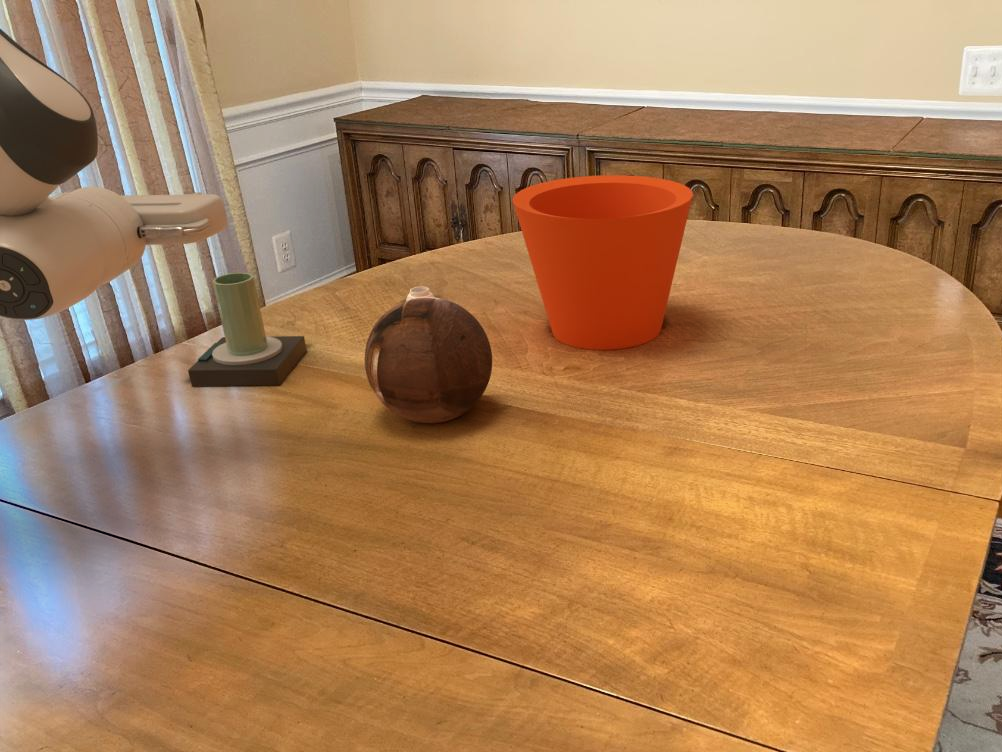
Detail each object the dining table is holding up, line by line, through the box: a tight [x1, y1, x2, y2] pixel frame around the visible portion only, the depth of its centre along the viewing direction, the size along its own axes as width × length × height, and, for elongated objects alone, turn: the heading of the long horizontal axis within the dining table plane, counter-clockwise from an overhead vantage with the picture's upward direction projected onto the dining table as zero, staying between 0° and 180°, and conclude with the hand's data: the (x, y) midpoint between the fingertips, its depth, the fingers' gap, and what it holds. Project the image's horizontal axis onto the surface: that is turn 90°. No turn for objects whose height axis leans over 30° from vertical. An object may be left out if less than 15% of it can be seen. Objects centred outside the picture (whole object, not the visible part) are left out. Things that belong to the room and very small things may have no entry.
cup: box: [212, 271, 268, 356], centre depth 132 cm, size 5×5×10 cm
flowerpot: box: [512, 174, 694, 351], centre depth 140 cm, size 25×25×20 cm
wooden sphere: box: [364, 296, 493, 424], centre depth 117 cm, size 15×15×15 cm
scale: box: [187, 335, 308, 387], centre depth 135 cm, size 12×12×3 cm
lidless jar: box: [405, 286, 435, 301], centre depth 155 cm, size 5×3×5 cm
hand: (155, 200), depth 110 cm, fingers open, 8 cm apart
